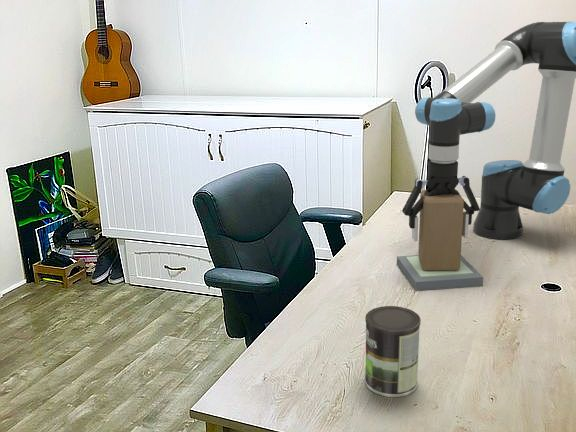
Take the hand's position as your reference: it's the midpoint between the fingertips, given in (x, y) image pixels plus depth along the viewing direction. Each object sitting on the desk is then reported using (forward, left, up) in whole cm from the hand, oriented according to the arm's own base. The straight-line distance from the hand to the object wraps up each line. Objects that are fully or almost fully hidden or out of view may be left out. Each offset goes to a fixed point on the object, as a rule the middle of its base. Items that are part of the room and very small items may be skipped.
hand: (439, 237), depth 169 cm
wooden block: (0, 0, -8) cm, 8 cm away
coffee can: (+26, +49, -11) cm, 57 cm away
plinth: (0, 0, -11) cm, 11 cm away
